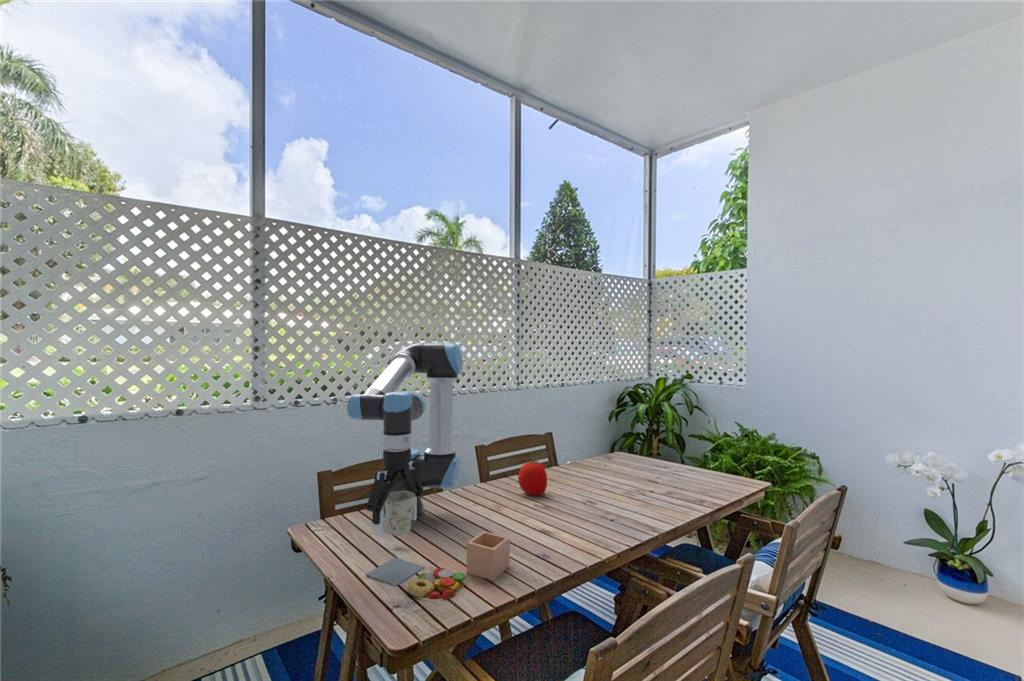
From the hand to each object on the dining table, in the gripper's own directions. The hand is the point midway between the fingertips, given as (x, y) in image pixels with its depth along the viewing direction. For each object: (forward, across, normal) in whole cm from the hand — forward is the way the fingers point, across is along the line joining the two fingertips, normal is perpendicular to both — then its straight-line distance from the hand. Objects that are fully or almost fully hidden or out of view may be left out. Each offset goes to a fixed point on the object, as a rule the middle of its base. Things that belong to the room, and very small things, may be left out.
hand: (395, 527), depth 122 cm
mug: (+2, 0, 0) cm, 2 cm away
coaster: (+13, 0, 0) cm, 13 cm away
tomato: (+13, +76, -4) cm, 78 cm away
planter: (+13, +13, -22) cm, 29 cm away
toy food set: (+13, 0, -15) cm, 20 cm away
